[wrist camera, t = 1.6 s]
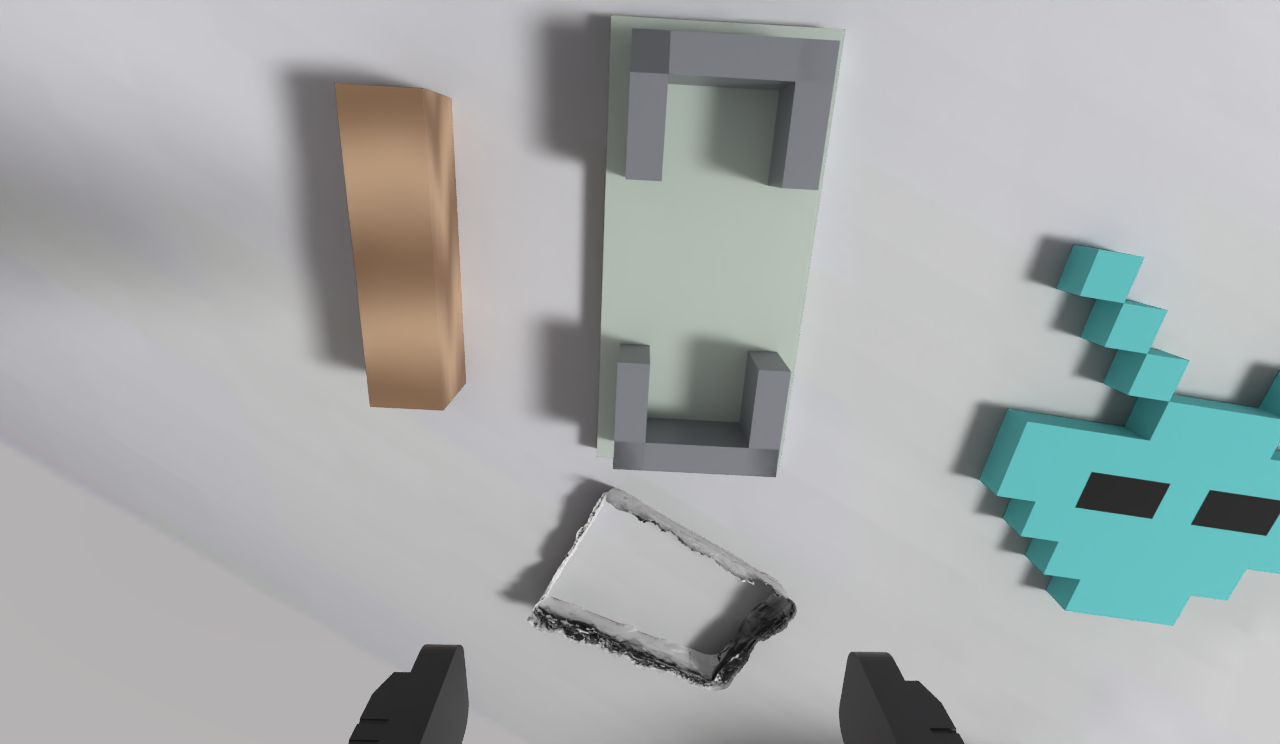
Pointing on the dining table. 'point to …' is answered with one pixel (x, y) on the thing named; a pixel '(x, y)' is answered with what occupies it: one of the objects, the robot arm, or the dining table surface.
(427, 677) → the robot arm
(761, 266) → the cradle board
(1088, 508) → the alien figure
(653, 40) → the end caps
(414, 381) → the slat
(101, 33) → the dining table surface
